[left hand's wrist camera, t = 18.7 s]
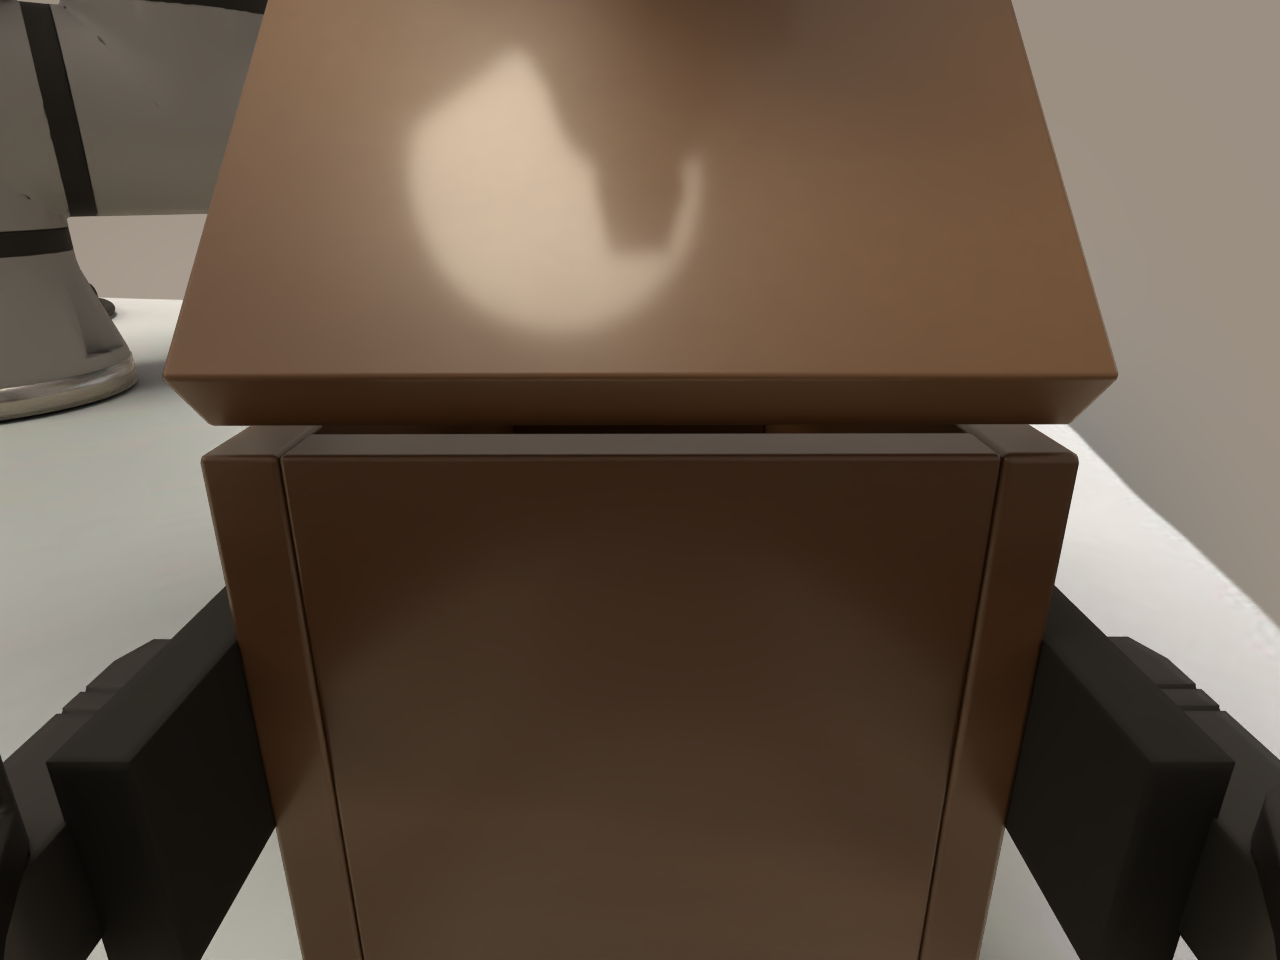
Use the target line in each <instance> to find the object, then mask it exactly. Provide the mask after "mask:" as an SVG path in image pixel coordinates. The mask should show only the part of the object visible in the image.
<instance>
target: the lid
mask: <svg viewBox="0 0 1280 960" xmlns="http://www.w3.org/2000/svg"><path fill="white" fill-rule="evenodd" d="M1117 377H1118V371H1117V367H1116V364H1115V360H1114V357H1113V353H1112V350H1111V346H1110V343H1109V339H1108V336H1107V332H1106V329H1105V325H1104V322H1103V318H1102V315H1101V311H1100V308H1099V304H1098V301H1097V298H1096V294H1095V291H1094V287H1093V284H1092V280H1091V277H1090V273H1089V270H1088V266H1087V263H1086V259H1085V256H1084V252H1083V249H1082V245H1081V242H1080V238H1079V235H1078V232H1077V228H1076V224H1075V221H1074V218H1073V214H1072V211H1071V207H1070V204H1069V200H1068V197H1067V193H1066V190H1065V186H1064V183H1063V179H1062V176H1061V172H1060V169H1059V165H1058V162H1057V158H1056V155H1055V152H1054V148H1053V144H1052V141H1051V138H1050V134H1049V131H1048V127H1047V124H1046V120H1045V117H1044V113H1043V110H1042V106H1041V103H1040V99H1039V96H1038V92H1037V89H1036V85H1035V82H1034V78H1033V75H1032V71H1031V68H1030V65H1029V61H1028V58H1027V54H1026V51H1025V47H1024V44H1023V40H1022V37H1021V33H1020V30H1019V26H1018V23H1017V19H1016V16H1015V12H1014V9H1013V6H1012V2H1011V0H268V2H267V5H266V9H265V13H264V16H263V20H262V23H261V27H260V30H259V34H258V37H257V41H256V44H255V48H254V52H253V55H252V59H251V62H250V66H249V69H248V73H247V76H246V80H245V83H244V87H243V90H242V94H241V98H240V101H239V105H238V108H237V112H236V115H235V119H234V122H233V126H232V129H231V133H230V137H229V140H228V144H227V147H226V151H225V154H224V158H223V161H222V165H221V168H220V172H219V176H218V179H217V183H216V186H215V190H214V193H213V197H212V200H211V204H210V207H209V211H208V215H207V218H206V222H205V225H204V229H203V232H202V236H201V239H200V243H199V246H198V250H197V254H196V257H195V261H194V264H193V268H192V271H191V275H190V278H189V282H188V285H187V289H186V293H185V296H184V300H183V303H182V307H181V310H180V314H179V317H178V321H177V324H176V328H175V332H174V335H173V339H172V342H171V346H170V349H169V353H168V356H167V360H166V363H165V367H164V370H163V379H164V381H165V382H166V383H167V384H168V385H169V386H170V387H171V388H172V389H173V390H174V391H175V392H176V393H177V394H178V395H179V396H180V397H181V398H183V399H184V400H185V401H186V402H187V403H188V404H189V405H190V406H191V407H192V408H193V409H194V410H195V411H196V412H197V413H198V414H199V415H200V416H201V417H202V418H203V419H204V420H205V421H206V422H207V423H208V424H211V425H214V426H348V425H928V424H1069V423H1071V422H1073V421H1074V420H1075V419H1076V418H1077V417H1078V416H1079V415H1080V414H1081V413H1082V412H1083V411H1084V410H1085V409H1086V408H1087V407H1088V406H1089V405H1090V404H1091V403H1092V402H1093V401H1094V400H1095V399H1096V398H1097V397H1099V396H1100V395H1101V394H1102V393H1103V392H1104V391H1105V390H1106V389H1107V388H1108V387H1109V386H1110V385H1111V384H1112V383H1113V382H1114V381H1115V380H1116V379H1117Z"/></svg>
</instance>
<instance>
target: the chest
mask: <svg viewBox="0 0 1280 960" xmlns="http://www.w3.org/2000/svg"><path fill="white" fill-rule="evenodd" d="M1078 465H1079V461H1078V457H1077V455H1076V454H1075V453H1073V452H1072V451H1070V450H1068V449H1067V448H1065V447H1064V446H1062V445H1060V444H1059V443H1057V442H1056V441H1054V440H1052V439H1051V438H1049V437H1048V436H1046V435H1044V434H1043V433H1041V432H1040V431H1038V430H1036V429H1035V428H1033V427H1032V426H1030V425H1028V424H928V425H348V426H250V427H248V428H246V429H245V430H243V431H242V432H240V433H238V434H237V435H235V436H234V437H232V438H231V439H229V440H227V441H226V442H224V443H223V444H221V445H220V446H218V447H216V448H215V449H213V450H212V451H210V452H208V453H207V454H205V455H204V456H202V458H201V467H202V472H203V477H204V482H205V486H206V491H207V496H208V501H209V506H210V511H211V516H212V521H213V525H214V530H215V535H216V540H217V545H218V550H219V555H220V559H221V564H222V569H223V574H224V579H225V584H226V589H227V594H228V598H229V603H230V608H231V613H232V618H233V623H234V628H235V632H236V637H237V642H238V647H239V652H240V657H241V662H242V666H243V671H244V676H245V681H246V686H247V691H248V696H249V701H250V705H251V710H252V715H253V720H254V725H255V730H256V735H257V739H258V744H259V749H260V754H261V759H262V764H263V769H264V773H265V778H266V783H267V788H268V793H269V798H270V803H271V808H272V812H273V817H274V822H275V827H276V832H277V837H278V842H279V846H280V851H281V856H282V861H283V866H284V871H285V876H286V880H287V885H288V890H289V895H290V900H291V905H292V910H293V915H294V919H295V924H296V929H297V934H298V939H299V944H300V949H301V953H302V958H303V960H978V958H979V953H980V948H981V944H982V939H983V934H984V929H985V924H986V919H987V914H988V909H989V904H990V899H991V894H992V889H993V884H994V879H995V874H996V870H997V865H998V860H999V855H1000V850H1001V845H1002V840H1003V835H1004V830H1005V825H1006V820H1007V815H1008V810H1009V805H1010V800H1011V795H1012V791H1013V786H1014V781H1015V776H1016V771H1017V766H1018V761H1019V756H1020V751H1021V746H1022V741H1023V736H1024V731H1025V726H1026V721H1027V717H1028V712H1029V707H1030V702H1031V697H1032V692H1033V687H1034V682H1035V677H1036V672H1037V667H1038V662H1039V657H1040V652H1041V647H1042V642H1043V638H1044V633H1045V628H1046V623H1047V618H1048V613H1049V608H1050V603H1051V598H1052V593H1053V588H1054V583H1055V578H1056V573H1057V568H1058V564H1059V559H1060V554H1061V549H1062V544H1063V539H1064V534H1065V529H1066V524H1067V519H1068V514H1069V509H1070V504H1071V499H1072V494H1073V489H1074V485H1075V480H1076V475H1077V470H1078Z"/></svg>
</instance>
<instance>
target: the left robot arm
mask: <svg viewBox="0 0 1280 960" xmlns="http://www.w3.org/2000/svg"><path fill="white" fill-rule="evenodd" d="M1005 827H1006V829H1007V831H1008V832H1009V834H1010V836H1011V838H1012V840H1013V841H1014V843H1015V845H1016V847H1017V848H1018V850H1019V852H1020V854H1021V855H1022V857H1023V859H1024V861H1025V863H1026V864H1027V866H1028V868H1029V870H1030V871H1031V873H1032V875H1033V877H1034V878H1035V880H1036V882H1037V884H1038V886H1039V887H1040V889H1041V891H1042V893H1043V894H1044V896H1045V898H1046V900H1047V902H1048V903H1049V905H1050V907H1051V909H1052V910H1053V912H1054V914H1055V916H1056V917H1057V919H1058V921H1059V923H1060V925H1061V926H1062V928H1063V930H1064V932H1065V933H1066V935H1067V937H1068V939H1069V940H1070V942H1071V944H1072V946H1073V948H1074V949H1075V951H1076V953H1077V955H1078V956H1079V958H1080V960H1173V956H1174V953H1175V950H1176V947H1177V944H1178V941H1179V938H1180V935H1181V937H1182V938H1183V939H1184V941H1185V942H1186V944H1187V945H1188V946H1189V948H1190V949H1191V951H1192V952H1193V953H1194V955H1195V956H1196V957H1197V959H1198V960H1280V760H1279V759H1278V758H1277V757H1276V756H1275V755H1274V754H1272V753H1271V752H1270V751H1269V750H1268V749H1267V748H1266V747H1265V746H1264V745H1262V744H1261V743H1260V742H1259V741H1258V740H1257V739H1256V738H1255V737H1254V736H1253V735H1251V734H1250V733H1249V732H1248V731H1247V730H1246V729H1245V728H1244V727H1243V726H1241V725H1240V724H1239V723H1238V722H1237V721H1236V720H1235V719H1234V718H1233V717H1232V716H1230V715H1229V714H1228V713H1227V712H1226V711H1220V709H1219V705H1218V704H1217V703H1216V702H1215V701H1214V700H1213V699H1212V698H1211V697H1209V696H1208V695H1207V694H1206V693H1205V692H1204V691H1203V690H1202V689H1196V684H1195V683H1194V682H1193V681H1192V680H1191V679H1190V678H1188V677H1187V676H1186V675H1185V674H1184V673H1183V672H1182V671H1181V670H1180V669H1179V668H1177V667H1176V666H1175V665H1174V664H1173V663H1172V662H1171V661H1170V660H1169V659H1167V658H1166V657H1164V656H1162V655H1160V654H1158V653H1157V652H1155V651H1153V650H1151V649H1149V648H1147V647H1146V646H1144V645H1142V644H1140V643H1138V642H1137V641H1135V640H1133V639H1131V638H1129V637H1107V636H1106V635H1105V634H1104V633H1103V632H1102V631H1101V630H1100V629H1099V628H1098V627H1097V626H1096V625H1095V624H1094V623H1092V622H1091V621H1090V620H1089V619H1088V618H1087V617H1086V616H1085V615H1084V614H1083V613H1082V612H1081V611H1080V610H1079V609H1078V608H1077V607H1076V606H1075V605H1074V604H1073V603H1072V602H1071V601H1070V600H1069V599H1068V598H1067V597H1066V596H1065V595H1064V594H1063V593H1062V592H1061V591H1060V590H1059V589H1058V588H1057V587H1056V586H1055V585H1054V588H1053V593H1052V598H1051V603H1050V608H1049V613H1048V618H1047V623H1046V628H1045V633H1044V638H1043V642H1042V647H1041V652H1040V657H1039V662H1038V667H1037V672H1036V677H1035V682H1034V687H1033V692H1032V697H1031V702H1030V707H1029V712H1028V717H1027V721H1026V726H1025V731H1024V736H1023V741H1022V746H1021V751H1020V756H1019V761H1018V766H1017V771H1016V776H1015V781H1014V786H1013V791H1012V795H1011V800H1010V805H1009V810H1008V815H1007V820H1006V825H1005ZM274 829H275V822H274V817H273V812H272V808H271V803H270V798H269V793H268V788H267V783H266V778H265V773H264V769H263V764H262V759H261V754H260V749H259V744H258V739H257V735H256V730H255V725H254V720H253V715H252V710H251V705H250V701H249V696H248V691H247V686H246V681H245V676H244V671H243V666H242V662H241V657H240V652H239V647H238V642H237V637H236V632H235V628H234V623H233V618H232V613H231V608H230V603H229V598H228V594H227V589H226V586H225V587H224V588H223V589H222V590H221V591H220V592H219V593H218V594H217V595H216V596H215V597H214V598H213V599H212V600H211V601H210V602H209V603H208V604H207V605H206V606H205V607H204V608H203V609H202V610H201V611H200V612H199V613H198V614H197V615H196V616H195V617H193V618H192V619H191V620H190V621H189V622H188V623H187V624H186V625H185V626H184V627H183V628H182V629H181V630H180V631H179V632H178V633H177V634H176V635H175V636H174V637H173V638H172V639H153V640H152V641H150V642H148V643H146V644H144V645H143V646H141V647H139V648H137V649H135V650H134V651H132V652H130V653H128V654H126V655H124V656H123V657H121V658H119V659H117V660H115V661H114V662H113V663H112V664H111V665H109V666H108V667H107V668H106V669H105V670H104V671H103V672H102V673H101V674H100V675H99V676H97V677H96V678H95V679H94V680H93V681H92V682H91V683H90V684H89V685H88V686H86V691H85V692H80V693H79V694H78V695H77V696H76V697H74V698H73V699H72V700H71V701H70V702H69V703H68V704H67V705H66V706H65V707H63V711H62V714H56V715H55V716H54V717H52V718H51V719H50V720H49V721H48V722H47V723H46V724H45V725H44V726H43V727H42V728H40V729H39V730H38V731H37V732H36V733H35V734H34V735H33V736H32V737H31V738H29V739H28V740H27V741H26V742H25V743H24V744H23V745H22V746H21V747H20V748H19V749H17V750H16V751H15V752H14V753H13V754H12V755H11V756H10V757H9V758H8V759H6V760H5V761H4V762H2V759H1V756H0V960H86V959H87V958H88V956H89V955H90V953H91V952H92V951H93V949H94V948H95V946H96V945H97V944H98V942H99V941H100V939H101V938H102V941H103V944H104V947H105V950H106V953H107V956H108V960H201V958H202V956H203V954H204V953H205V951H206V949H207V947H208V945H209V944H210V942H211V940H212V938H213V937H214V935H215V933H216V931H217V929H218V928H219V926H220V924H221V922H222V921H223V919H224V917H225V915H226V914H227V912H228V910H229V908H230V906H231V905H232V903H233V901H234V899H235V898H236V896H237V894H238V892H239V891H240V889H241V887H242V885H243V883H244V882H245V880H246V878H247V876H248V875H249V873H250V871H251V869H252V867H253V866H254V864H255V862H256V860H257V859H258V857H259V855H260V853H261V852H262V850H263V848H264V846H265V844H266V843H267V841H268V839H269V837H270V836H271V834H272V832H273V830H274Z"/></svg>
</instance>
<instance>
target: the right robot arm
mask: <svg viewBox="0 0 1280 960" xmlns="http://www.w3.org/2000/svg"><path fill="white" fill-rule="evenodd" d="M267 2H268V0H60V2H59V4H58V5H57V4H41V3H32V2H22V1H17V0H0V420H7V419H13V418H20V417H26V416H32V415H37V414H43V413H48V412H53V411H58V410H62V409H67V408H71V407H75V406H79V405H83V404H87V403H91V402H94V401H98V400H101V399H104V398H107V397H110V396H113V395H115V394H118V393H120V392H122V391H124V390H126V389H128V388H130V387H131V386H133V385H134V384H135V383H136V382H137V380H138V379H137V374H136V369H135V365H134V360H133V356H132V352H131V351H130V350H129V348H128V346H127V344H126V342H125V341H124V339H123V338H122V336H121V334H120V333H119V331H118V329H117V328H116V326H115V325H114V323H113V321H112V320H111V318H110V317H109V316H110V315H111V314H112V313H114V311H115V306H114V305H113V303H112V302H110V301H108V300H105V299H102V298H98V295H97V292H96V290H95V288H94V287H93V286H92V285H91V284H90V283H88V281H87V279H86V278H85V276H84V274H83V273H82V271H81V270H80V267H79V265H78V263H77V260H76V257H75V253H74V250H73V245H72V241H71V237H70V233H69V228H68V223H67V218H68V217H77V216H129V215H174V214H208V211H209V207H210V204H211V200H212V197H213V193H214V190H215V186H216V183H217V179H218V176H219V172H220V168H221V165H222V161H223V158H224V154H225V151H226V147H227V144H228V140H229V137H230V133H231V129H232V126H233V122H234V119H235V115H236V112H237V108H238V105H239V101H240V98H241V94H242V90H243V87H244V83H245V80H246V76H247V73H248V69H249V66H250V62H251V59H252V55H253V52H254V48H255V44H256V41H257V37H258V34H259V30H260V27H261V23H262V20H263V16H264V13H265V9H266V5H267ZM96 214H97V215H96Z"/></svg>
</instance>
